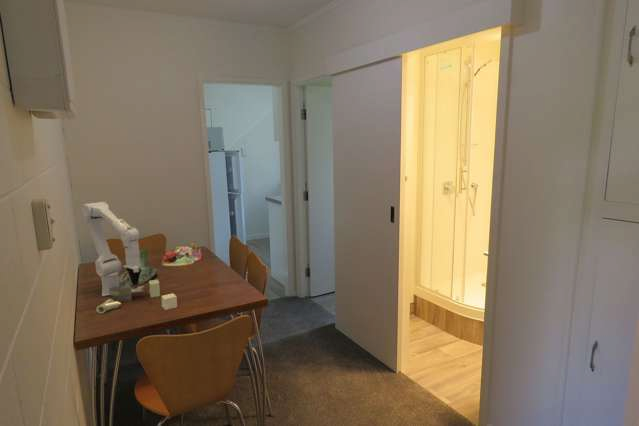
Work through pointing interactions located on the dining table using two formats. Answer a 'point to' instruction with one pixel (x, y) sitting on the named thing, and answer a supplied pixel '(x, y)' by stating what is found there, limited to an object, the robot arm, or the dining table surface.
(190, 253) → the toy food platter
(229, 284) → the dining table surface
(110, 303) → the pipe fitting
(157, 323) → the dining table surface
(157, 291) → the socket block
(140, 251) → the tree stump
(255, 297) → the dining table surface
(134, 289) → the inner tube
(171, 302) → the cream white cube
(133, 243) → the robot arm
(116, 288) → the grey boxy piece
